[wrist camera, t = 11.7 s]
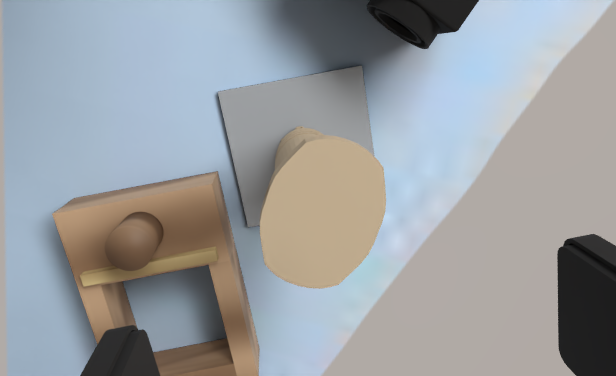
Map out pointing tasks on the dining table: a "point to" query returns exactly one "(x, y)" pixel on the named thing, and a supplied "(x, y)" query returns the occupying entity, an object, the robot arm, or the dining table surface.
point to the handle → (320, 208)
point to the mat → (289, 123)
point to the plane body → (161, 263)
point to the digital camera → (421, 17)
